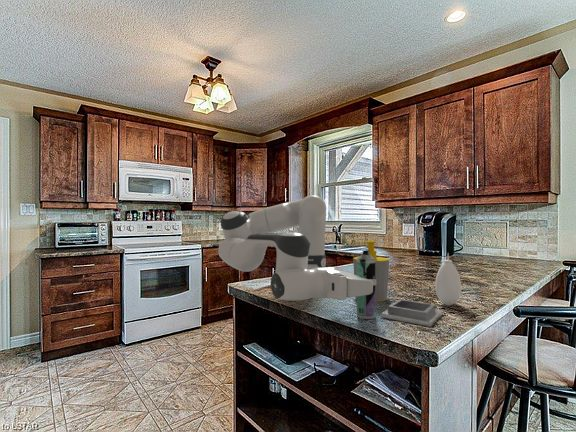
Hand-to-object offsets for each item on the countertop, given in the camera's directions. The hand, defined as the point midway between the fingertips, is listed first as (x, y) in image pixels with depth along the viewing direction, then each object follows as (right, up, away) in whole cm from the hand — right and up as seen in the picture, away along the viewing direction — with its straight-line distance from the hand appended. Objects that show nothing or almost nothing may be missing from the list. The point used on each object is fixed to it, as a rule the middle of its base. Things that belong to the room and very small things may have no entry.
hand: (368, 279), depth 99 cm
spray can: (-1, -11, 0) cm, 11 cm away
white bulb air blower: (+31, -11, +13) cm, 35 cm away
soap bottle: (+7, -11, +23) cm, 26 cm away
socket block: (+13, -11, 0) cm, 17 cm away
